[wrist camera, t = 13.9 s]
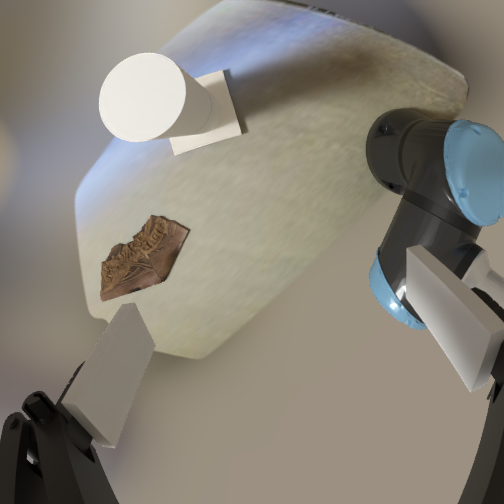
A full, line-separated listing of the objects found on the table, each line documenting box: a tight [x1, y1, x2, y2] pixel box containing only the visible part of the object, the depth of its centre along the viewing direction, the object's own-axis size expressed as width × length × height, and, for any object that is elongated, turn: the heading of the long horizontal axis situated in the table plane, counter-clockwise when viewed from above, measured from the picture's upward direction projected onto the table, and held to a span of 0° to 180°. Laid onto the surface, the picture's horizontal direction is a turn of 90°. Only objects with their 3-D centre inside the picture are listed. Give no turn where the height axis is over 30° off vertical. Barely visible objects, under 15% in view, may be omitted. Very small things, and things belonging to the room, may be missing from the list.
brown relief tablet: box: [100, 216, 190, 302], centre depth 53 cm, size 26×11×1 cm, turn 124°
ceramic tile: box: [169, 70, 242, 155], centre depth 42 cm, size 11×11×1 cm
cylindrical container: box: [99, 53, 221, 142], centre depth 30 cm, size 7×7×25 cm
